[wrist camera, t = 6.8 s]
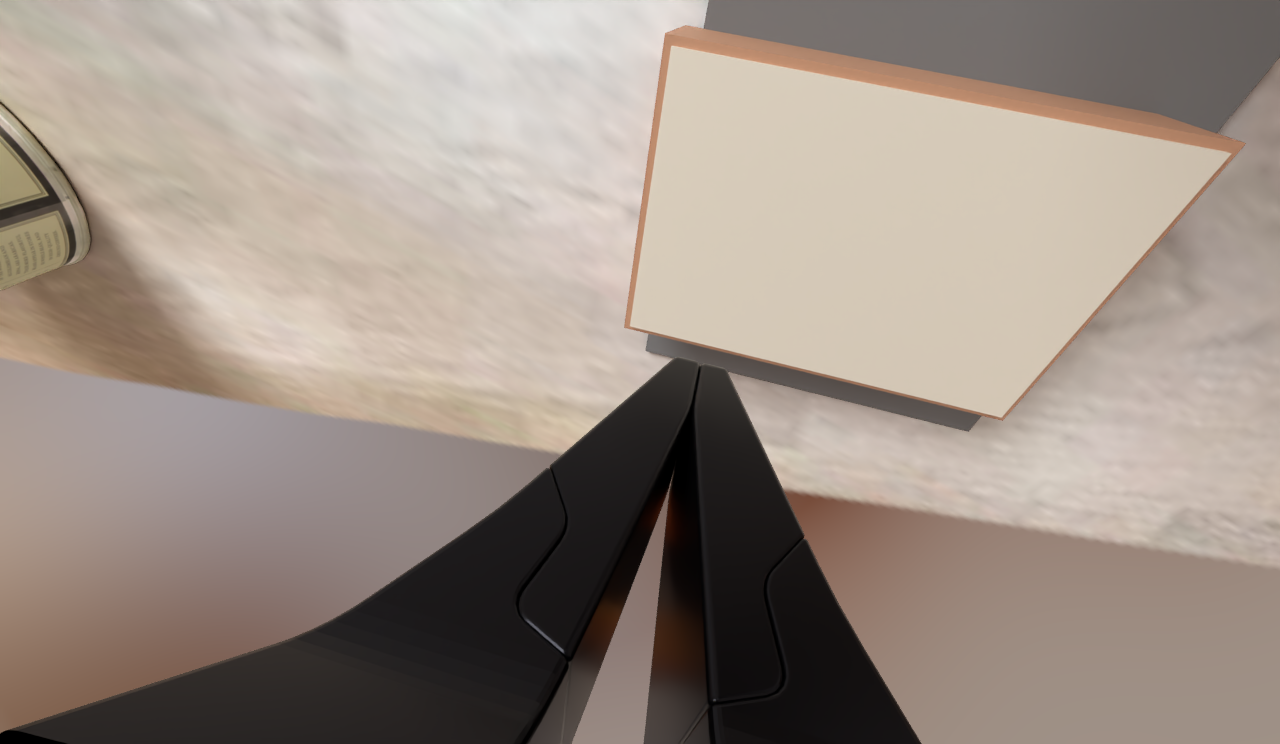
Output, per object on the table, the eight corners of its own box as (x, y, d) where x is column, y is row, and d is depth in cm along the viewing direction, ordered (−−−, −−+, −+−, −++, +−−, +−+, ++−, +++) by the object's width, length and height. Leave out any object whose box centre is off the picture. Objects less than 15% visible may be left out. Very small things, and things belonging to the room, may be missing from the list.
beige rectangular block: (685, 25, 13) (1157, 113, 12) (644, 284, 18) (972, 362, 17) (664, 33, 11) (1251, 144, 10) (623, 330, 16) (1004, 424, 15)
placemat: (1344, -32, 10) (1353, -32, 10) (967, 428, 19) (968, 431, 19) (733, -128, 11) (732, -129, 11) (646, 348, 20) (645, 350, 20)
